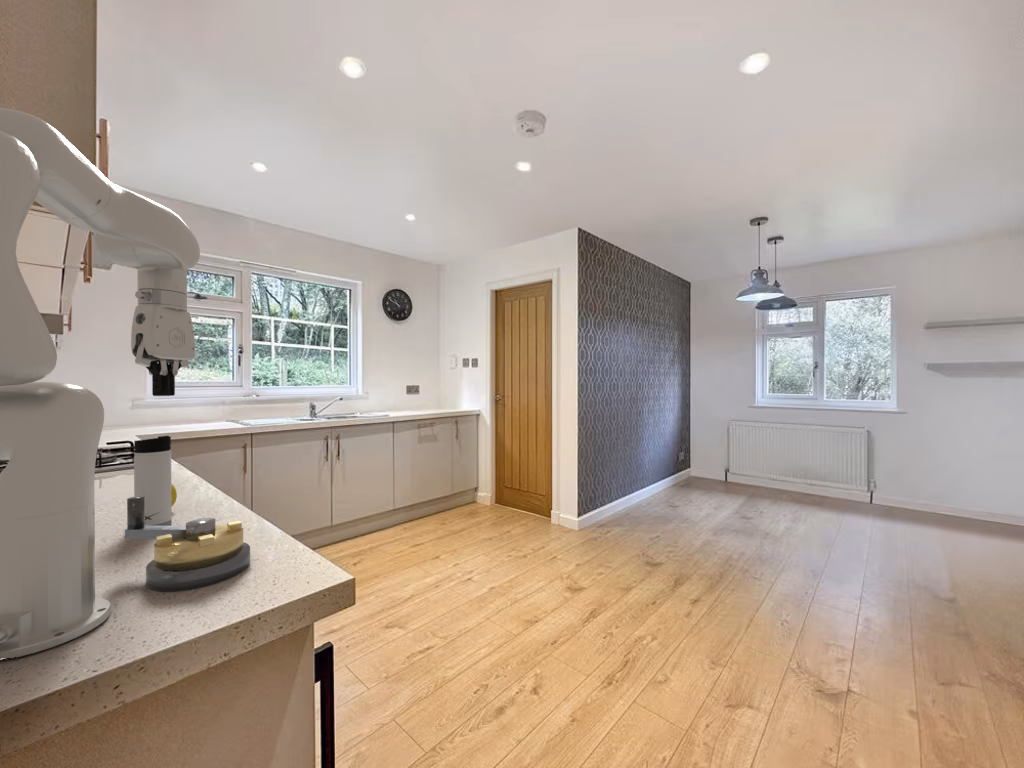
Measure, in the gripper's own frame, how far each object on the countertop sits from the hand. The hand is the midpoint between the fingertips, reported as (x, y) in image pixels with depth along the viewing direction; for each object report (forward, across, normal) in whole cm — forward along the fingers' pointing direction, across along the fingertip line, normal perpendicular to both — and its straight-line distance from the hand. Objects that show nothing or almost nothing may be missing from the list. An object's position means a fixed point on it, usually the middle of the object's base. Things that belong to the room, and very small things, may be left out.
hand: (163, 395), depth 84 cm
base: (+29, -12, -17) cm, 36 cm away
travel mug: (+29, +9, +11) cm, 33 cm away
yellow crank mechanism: (+26, -12, -14) cm, 32 cm away
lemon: (+29, +18, +18) cm, 39 cm away
